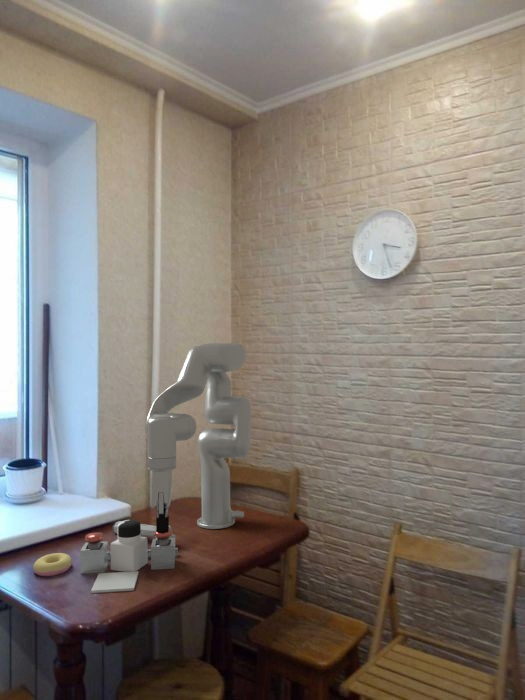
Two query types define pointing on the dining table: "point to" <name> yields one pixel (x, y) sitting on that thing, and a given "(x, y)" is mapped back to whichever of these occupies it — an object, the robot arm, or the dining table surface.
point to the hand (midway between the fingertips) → (162, 531)
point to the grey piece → (143, 530)
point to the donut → (52, 564)
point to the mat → (115, 582)
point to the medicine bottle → (128, 547)
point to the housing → (99, 557)
